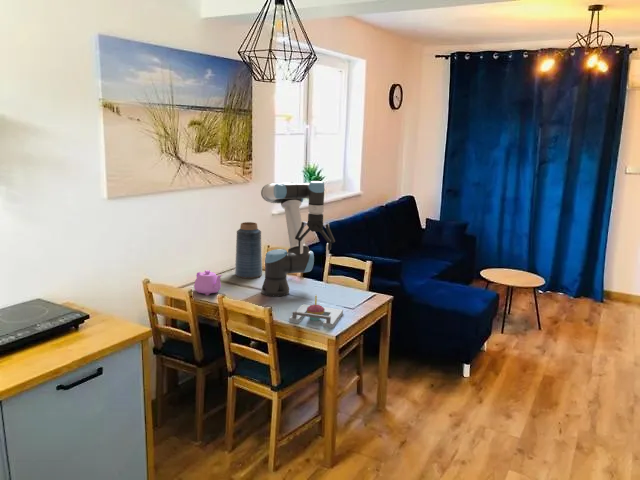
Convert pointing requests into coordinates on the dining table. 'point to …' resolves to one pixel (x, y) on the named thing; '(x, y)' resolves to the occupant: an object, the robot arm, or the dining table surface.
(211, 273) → the teapot
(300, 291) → the dining table surface
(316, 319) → the cupcake
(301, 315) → the grey handled tray
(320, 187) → the robot arm
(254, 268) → the blue thread spool
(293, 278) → the dining table surface
